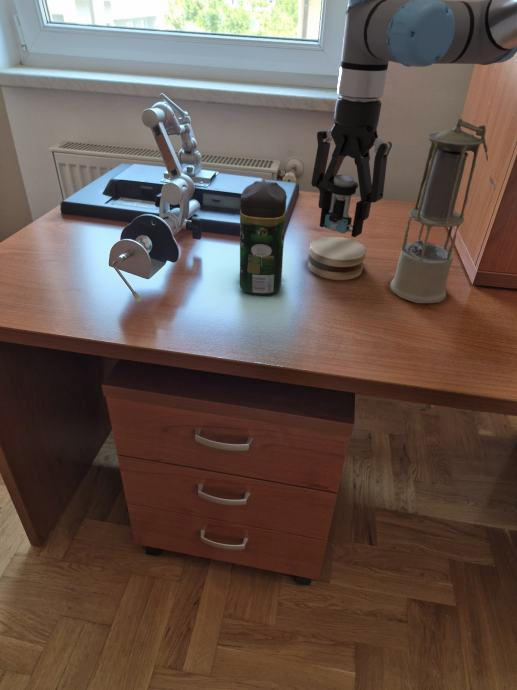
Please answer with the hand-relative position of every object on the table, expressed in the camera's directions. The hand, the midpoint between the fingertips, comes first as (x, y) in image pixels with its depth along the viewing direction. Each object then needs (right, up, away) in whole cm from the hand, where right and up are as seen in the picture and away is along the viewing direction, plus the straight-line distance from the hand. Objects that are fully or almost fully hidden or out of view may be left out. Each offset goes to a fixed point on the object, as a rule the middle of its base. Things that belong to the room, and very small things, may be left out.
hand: (340, 229), depth 92 cm
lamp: (+16, -12, -2) cm, 20 cm away
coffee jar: (-16, -11, -2) cm, 19 cm away
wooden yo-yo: (0, -7, +5) cm, 8 cm away
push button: (0, 0, 0) cm, 0 cm away
